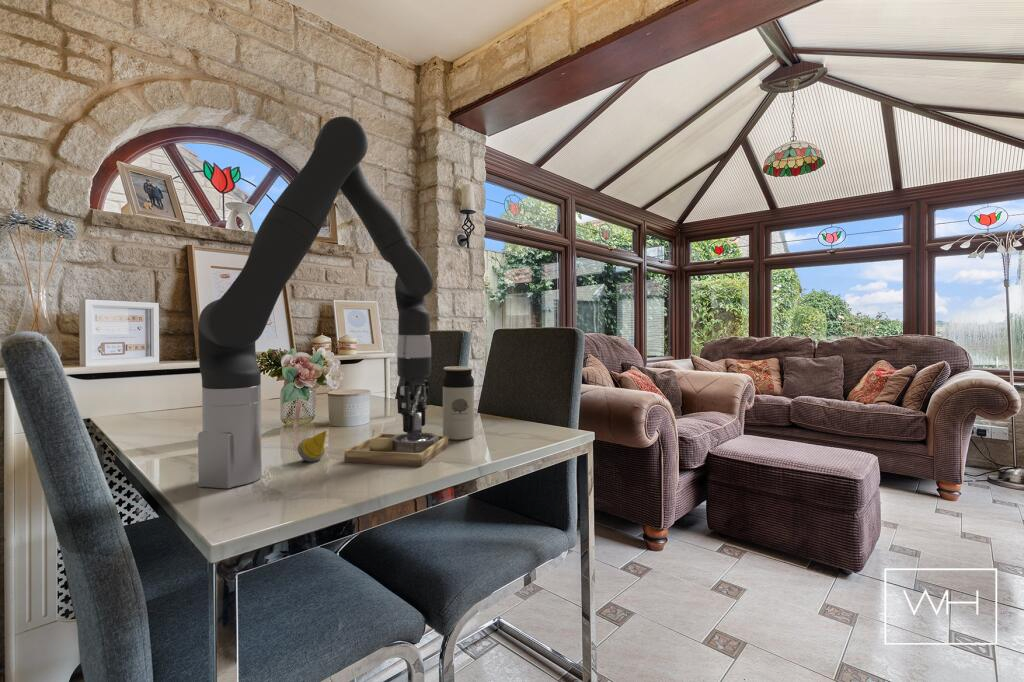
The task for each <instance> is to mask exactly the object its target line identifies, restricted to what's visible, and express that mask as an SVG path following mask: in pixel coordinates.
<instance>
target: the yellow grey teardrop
mask: <svg viewBox="0 0 1024 682" xmlns="http://www.w3.org/2000/svg"><path fill="white" fill-rule="evenodd" d="M326 436H327V430H324V431H322V432H319V433H318V434H316V435H313V436H311V437H307V438H304V439H302V440H301V442H299V444H298V445H297V453H298V455H299V457H301V463H303V462H310V463H314V462H315V463H316V462H318V461H320V460H321V459H322V457H324V455H325V448H324V447H325V442H326Z"/></svg>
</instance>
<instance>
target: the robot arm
mask: <svg viewBox="0 0 1024 682" xmlns="http://www.w3.org/2000/svg"><path fill="white" fill-rule="evenodd" d="M368 140H369V139H368V135H367V132H366V131H365V128H364V127H363V125H362V124H361V123H360V122H359V121H358V120H357V119H354V118H353V117H351V116H345V115H341V116H337V117H333V118H331V119H329V120H328V121H326V122H325V123H324V125H323V126H322V128H321V130H320V131H319V133H318V134H317V136H316V138H315V141H314V147H313V148H314V149H313V151H312V153H311V155H310V157H309V158H308V160H307V161H306V163H305V165H304V166H303V167H302V169H301V170H300V171H299V172H298V174H297V175H296V176H295V177H294V178H293V179H292V181H290V183H289V184H288V185H287V186H286V187H285V189H284V190H283V191H282V192H281V194H280V195H279V196H278V198H277V199H276V200H275V202H274V203H273V205H272V207H270V209H269V211H268V213H267V214H266V216H265V217H264V219H262V222H261V224H260V226H259V228H258V229H257V232H256V234H255V236H254V238H253V242H252V245H251V248H250V249H249V250H250V251H249V254H248V256H247V260H246V262H245V264H244V266H243V267H242V270H241V271H240V273H239V274H238V276H237V277H236V278H235V279H234V281H233V282H232V283H231V285H230V286H229V287H228V289H227V290H226V291H225V293H224V294H222V296H221V297H220V298H218V299H216V300H213V301H211V302H209V303H208V304H207V305H206V306H205V307H204V308H203V309H202V311H201V312H200V314H199V319H198V323H197V324H198V325H197V327H198V328H197V330H198V332H197V336H198V363H199V364H198V365H199V372H200V376H201V391H202V392H201V393H202V394H201V395H202V396H201V397H202V398H201V400H202V401H201V403H202V405H201V407H202V410H201V412H202V413H201V415H202V430H201V431H199V432H198V433H197V441H198V442H197V447H198V448H197V458H198V459H197V460H198V463H197V464H198V466H197V467H198V469H197V470H198V471H197V472H198V487H199V488H200V487H201V488H202V487H203V488H215V489H216V488H217V489H218V488H219V489H230V488H234V487H238V486H243V485H247V484H250V483H254V482H255V481H258V480H260V479H261V478H262V477H263V476H262V385H261V384H262V383H261V382H262V381H261V379H262V378H261V377H262V376H261V369H260V367H259V365H258V362H257V355H256V353H257V352H256V341H258V340H259V338H260V337H261V336H262V334H263V333H264V331H265V328H266V327H267V324H268V321H269V319H270V318H271V315H272V314H273V313H272V312H273V310H274V309H275V306H276V304H277V302H278V299H279V297H280V295H281V293H282V291H283V289H284V288H285V286H286V284H287V283H288V282H289V280H290V278H291V277H292V276H293V275H294V273H295V272H296V270H297V269H298V267H299V266H300V264H301V262H302V261H303V259H304V258H305V256H306V255H307V253H308V251H309V250H310V249H311V246H312V245H313V244H314V242H315V240H316V239H317V237H318V235H319V233H320V231H321V229H322V227H323V225H324V223H325V222H326V220H327V218H328V215H329V213H330V211H331V209H332V207H333V204H334V202H335V201H336V198H337V195H339V194H338V193H339V191H341V193H342V194H343V196H344V197H345V198H346V200H347V201H348V203H350V206H351V207H352V208H353V209H354V211H355V213H356V214H357V216H358V217H359V219H360V220H361V222H362V223H363V226H364V227H365V229H366V231H367V232H368V234H369V236H370V239H371V240H372V241H373V243H374V245H375V247H376V248H377V251H378V252H379V255H380V256H381V257H382V258H383V259H384V261H385V262H387V263H389V264H390V265H391V267H392V268H393V270H394V271H395V273H396V274H397V275H396V277H395V282H394V294H395V299H396V300H395V302H396V307H397V308H396V309H397V313H398V321H397V324H398V325H397V326H398V327H397V329H398V332H397V335H398V336H397V345H396V349H397V351H396V354H397V355H396V359H397V361H396V363H397V364H396V365H397V367H396V374H397V376H398V377H399V378H403V384H402V385H401V386H400V385H398V386H397V387H396V398H397V399H396V401H397V402H396V403H397V404H396V405H397V413H398V414H400V415H401V416H402V431H403V432H404V433H407V432H408V433H411V432H413V431H414V415H413V414H414V412H422V427H424V426H425V425H426V410H427V408H428V406H430V400H431V399H430V398H431V397H430V394H431V380H429V379H428V380H426V379H425V378H426V377H431V375H432V341H431V318H430V313H429V311H428V310H427V309H426V302H425V296H427V295H428V294H430V292H431V291H432V290H433V286H434V277H433V274H432V271H431V269H430V268H429V266H428V264H427V262H425V260H424V259H423V258H422V256H421V255H420V254H419V252H418V251H417V250H416V249H415V247H414V246H413V245H412V243H411V242H410V238H409V237H408V235H407V233H406V232H405V229H404V228H403V226H402V224H401V222H400V221H399V219H398V217H397V216H396V214H395V213H394V211H392V209H391V208H390V207H389V206H388V205H387V204H386V203H385V202H384V201H383V199H381V197H380V196H379V195H378V194H377V193H376V192H375V190H374V189H373V188H372V186H371V185H370V184H369V182H368V180H367V177H365V174H364V172H363V168H362V167H361V164H360V163H361V161H362V160H363V159H364V158H365V157H366V154H367V151H368V145H369V141H368Z"/></svg>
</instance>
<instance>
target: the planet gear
mask: <svg viewBox="0 0 1024 682" xmlns="http://www.w3.org/2000/svg"><path fill="white" fill-rule="evenodd" d="M413 415H414V431H413V432H411V433H408V432H406V433H407V437H405V438H404V439H402V440H401V441H407V442H417V441H424V440H428V438H425V437H422V433H423V430H422V429H423V428H422V427H423V426H422V412H415V411H414V414H413Z"/></svg>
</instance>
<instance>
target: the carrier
mask: <svg viewBox="0 0 1024 682" xmlns="http://www.w3.org/2000/svg"><path fill="white" fill-rule="evenodd" d="M405 437H407V432H404V433H379V434H376V435H374V436H372V437H370V438H368V439H366V440H364V441H362V442H360V443H358V444H355V445H353V446H351V447H349V448H347V449H345V450H344V453H343V454H344V455H343V456H344V463H354V464H371V465H372V464H373V465H392V466H393V465H394V466H410V467H413V466H414V467H423V466H424V465H426V464H427V463H428V462H430V461H432V460H433V459H434V458H435V457H436V456H438V455H439V454H440V453H441V452H443V451H444V450H446V449H447V448H448V447H449V439H448V436H443V435H437V434H435V433H432V432H422V437H425V438H428V440H424V441H417V442H407V441H401V440H402V439H404V438H405Z"/></svg>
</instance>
